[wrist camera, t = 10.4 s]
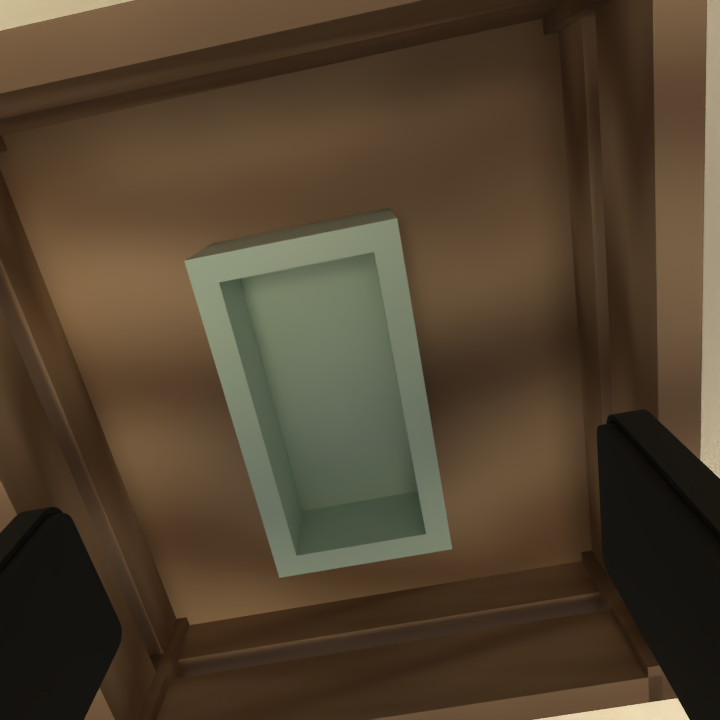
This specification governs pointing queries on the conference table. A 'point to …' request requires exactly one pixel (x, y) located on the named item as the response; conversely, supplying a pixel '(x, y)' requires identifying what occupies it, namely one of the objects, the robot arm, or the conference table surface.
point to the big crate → (431, 317)
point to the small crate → (326, 390)
